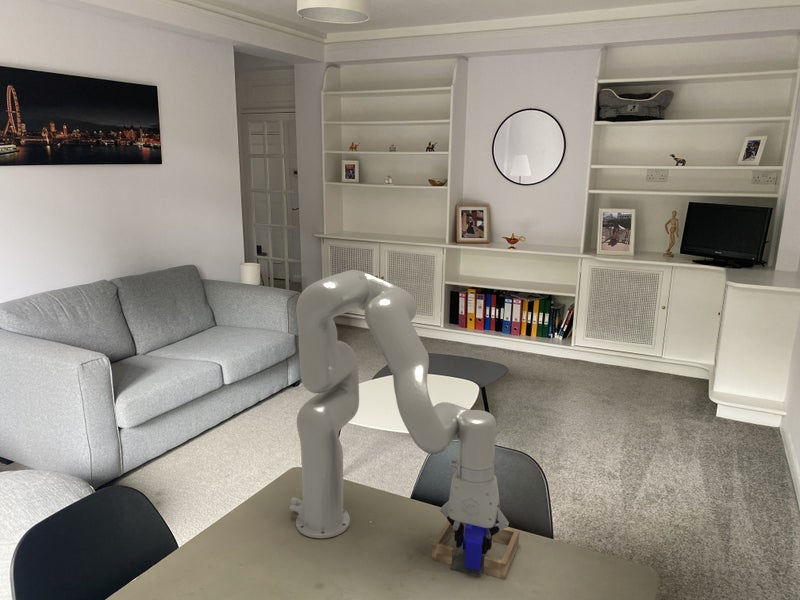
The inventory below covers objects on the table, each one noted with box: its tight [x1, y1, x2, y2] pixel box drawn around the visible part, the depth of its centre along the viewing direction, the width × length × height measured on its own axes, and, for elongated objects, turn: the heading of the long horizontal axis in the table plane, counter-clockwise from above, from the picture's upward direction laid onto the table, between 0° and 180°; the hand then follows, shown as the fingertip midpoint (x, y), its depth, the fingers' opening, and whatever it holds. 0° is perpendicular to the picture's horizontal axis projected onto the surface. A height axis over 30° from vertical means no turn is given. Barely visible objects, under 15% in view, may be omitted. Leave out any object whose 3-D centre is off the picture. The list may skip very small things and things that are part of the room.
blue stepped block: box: [461, 524, 485, 570], centre depth 132 cm, size 12×4×6 cm, turn 166°
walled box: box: [431, 519, 520, 580], centre depth 135 cm, size 16×14×4 cm
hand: (472, 547), depth 132 cm, fingers closed on blue stepped block, 5 cm apart
